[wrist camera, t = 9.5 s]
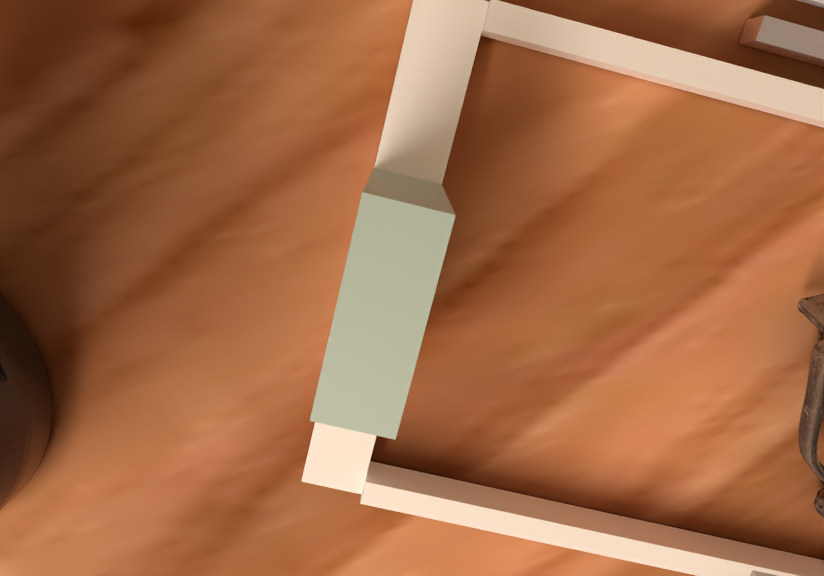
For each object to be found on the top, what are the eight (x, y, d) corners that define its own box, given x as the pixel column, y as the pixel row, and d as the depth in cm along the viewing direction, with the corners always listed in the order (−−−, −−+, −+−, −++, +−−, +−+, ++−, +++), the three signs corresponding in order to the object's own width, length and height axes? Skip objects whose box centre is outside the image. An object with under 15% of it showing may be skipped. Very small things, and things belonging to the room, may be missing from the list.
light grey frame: (304, 468, 34) (267, 603, 25) (417, -14, 28) (422, -70, 19) (873, 591, 36) (1033, 757, 27) (1086, 168, 31) (1381, 197, 21)
